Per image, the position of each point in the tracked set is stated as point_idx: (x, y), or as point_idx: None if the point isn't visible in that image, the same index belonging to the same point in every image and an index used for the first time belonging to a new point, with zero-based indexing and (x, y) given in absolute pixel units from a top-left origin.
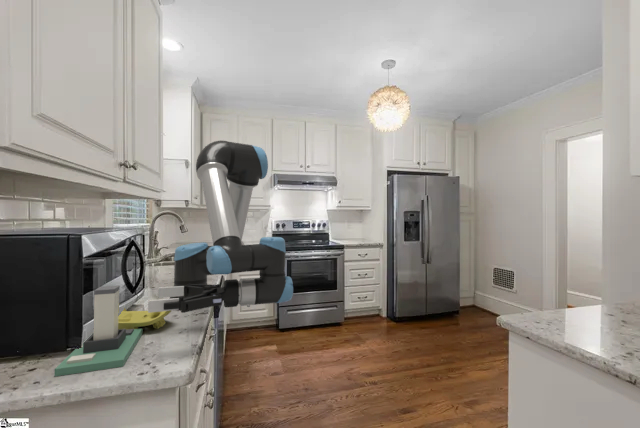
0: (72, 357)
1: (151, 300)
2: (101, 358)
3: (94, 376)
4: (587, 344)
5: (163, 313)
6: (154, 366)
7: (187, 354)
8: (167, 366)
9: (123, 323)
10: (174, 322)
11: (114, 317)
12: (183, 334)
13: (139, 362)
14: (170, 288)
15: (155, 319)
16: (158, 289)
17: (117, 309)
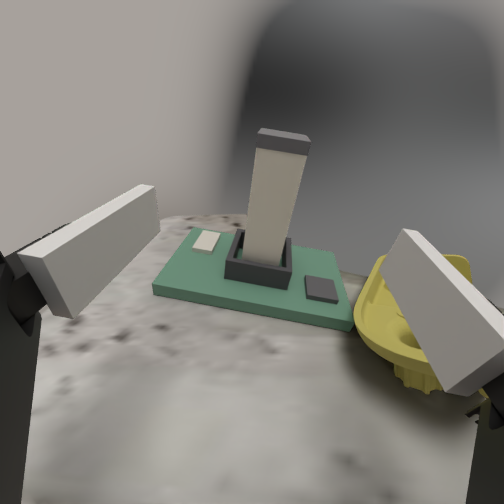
0: (214, 233)
1: (142, 188)
2: (191, 260)
3: (150, 264)
4: None
5: (393, 350)
6: (85, 348)
7: (65, 469)
8: (42, 381)
9: (367, 280)
10: (474, 441)
11: (252, 217)
12: (316, 474)
13: (148, 319)
14: (431, 271)
15: (361, 333)
16: (400, 236)
17: (280, 209)
